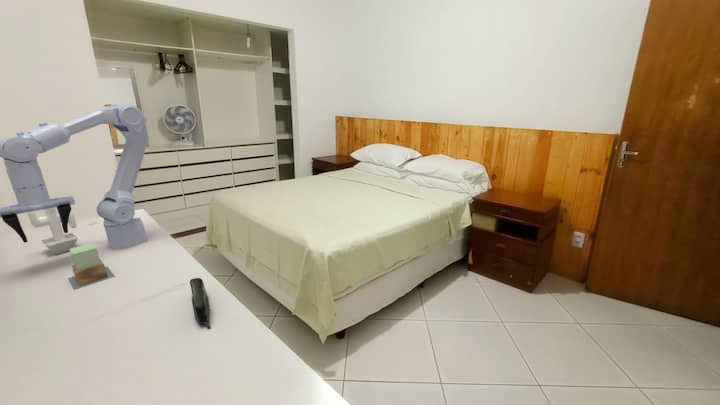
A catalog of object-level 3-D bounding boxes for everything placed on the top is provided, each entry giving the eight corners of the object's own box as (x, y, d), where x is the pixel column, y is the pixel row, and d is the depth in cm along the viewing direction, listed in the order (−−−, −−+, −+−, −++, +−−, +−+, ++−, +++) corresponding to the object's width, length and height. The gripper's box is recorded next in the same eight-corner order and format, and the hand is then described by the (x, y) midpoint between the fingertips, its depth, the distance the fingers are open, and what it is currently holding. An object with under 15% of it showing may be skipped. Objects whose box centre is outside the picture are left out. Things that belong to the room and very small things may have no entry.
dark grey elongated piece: (187, 278, 73) (193, 311, 61) (201, 274, 75) (210, 306, 62) (191, 297, 74) (198, 333, 62) (205, 292, 76) (214, 327, 64)
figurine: (85, 247, 99) (71, 202, 95) (44, 259, 92) (28, 210, 88) (79, 241, 104) (66, 198, 99) (39, 252, 97) (23, 206, 92)
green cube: (97, 258, 82) (92, 242, 80) (100, 264, 79) (96, 248, 77) (74, 265, 78) (69, 248, 77) (77, 271, 76) (72, 254, 74)
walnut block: (102, 269, 83) (99, 257, 82) (107, 276, 80) (104, 264, 79) (75, 277, 79) (71, 265, 78) (79, 285, 76) (75, 272, 75)
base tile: (108, 271, 85) (107, 266, 85) (116, 281, 80) (115, 276, 80) (69, 283, 80) (68, 278, 79) (75, 295, 75) (73, 289, 74)
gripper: (-15, 195, 70) (6, 250, 74) (70, 183, 81) (85, 232, 85) (-15, 190, 75) (5, 242, 79) (66, 179, 85) (80, 225, 89)
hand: (46, 236), depth 82 cm, fingers open, 7 cm apart
